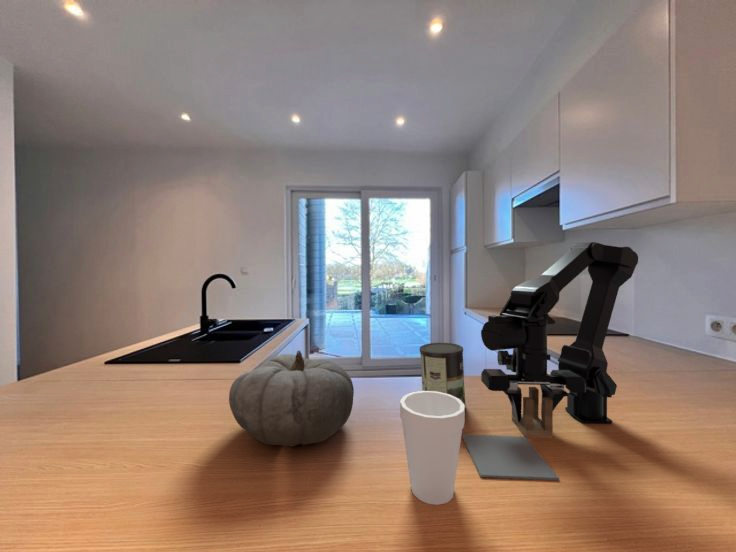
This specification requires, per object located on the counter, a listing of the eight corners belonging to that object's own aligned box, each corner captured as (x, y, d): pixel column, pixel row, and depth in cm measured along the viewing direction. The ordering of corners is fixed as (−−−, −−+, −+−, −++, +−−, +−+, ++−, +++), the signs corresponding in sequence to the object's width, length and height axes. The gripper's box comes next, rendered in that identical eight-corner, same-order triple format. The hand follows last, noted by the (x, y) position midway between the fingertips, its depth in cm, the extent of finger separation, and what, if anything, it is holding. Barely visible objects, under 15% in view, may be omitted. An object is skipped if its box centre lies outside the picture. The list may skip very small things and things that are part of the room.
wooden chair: (511, 420, 67) (511, 386, 67) (535, 421, 67) (535, 386, 67) (526, 437, 60) (526, 399, 60) (552, 438, 60) (552, 400, 60)
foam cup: (396, 470, 50) (395, 391, 50) (450, 467, 51) (450, 389, 51) (408, 516, 41) (408, 419, 41) (475, 511, 42) (475, 416, 41)
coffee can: (461, 395, 79) (458, 341, 79) (470, 415, 69) (467, 352, 68) (420, 396, 80) (418, 342, 80) (423, 414, 70) (420, 353, 70)
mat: (524, 438, 60) (524, 436, 60) (558, 480, 48) (558, 477, 48) (462, 436, 60) (462, 434, 60) (480, 477, 48) (480, 474, 48)
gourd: (208, 467, 47) (224, 352, 50) (234, 420, 71) (243, 343, 74) (365, 459, 53) (370, 356, 56) (340, 418, 77) (345, 347, 80)
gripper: (556, 338, 71) (556, 405, 71) (474, 337, 72) (474, 403, 72) (588, 350, 60) (587, 430, 60) (489, 349, 61) (489, 427, 61)
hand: (531, 421), depth 63 cm, fingers open, 5 cm apart
